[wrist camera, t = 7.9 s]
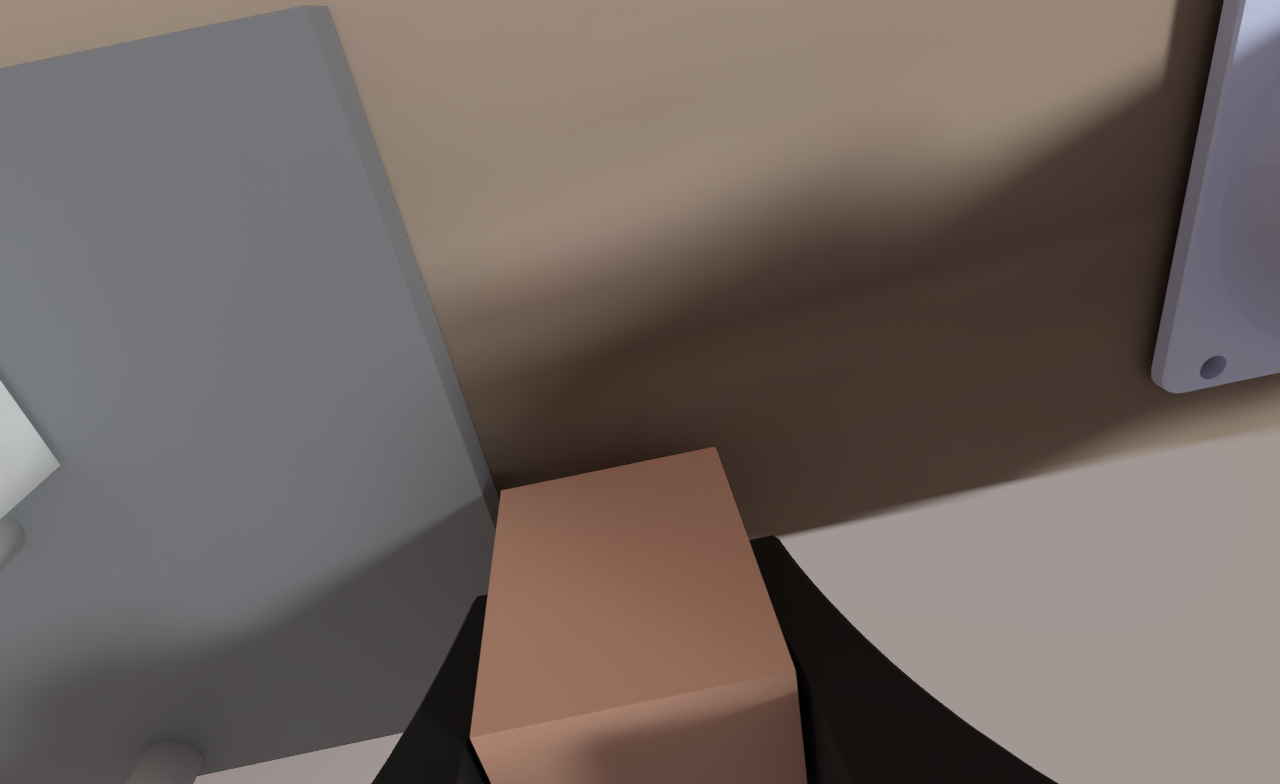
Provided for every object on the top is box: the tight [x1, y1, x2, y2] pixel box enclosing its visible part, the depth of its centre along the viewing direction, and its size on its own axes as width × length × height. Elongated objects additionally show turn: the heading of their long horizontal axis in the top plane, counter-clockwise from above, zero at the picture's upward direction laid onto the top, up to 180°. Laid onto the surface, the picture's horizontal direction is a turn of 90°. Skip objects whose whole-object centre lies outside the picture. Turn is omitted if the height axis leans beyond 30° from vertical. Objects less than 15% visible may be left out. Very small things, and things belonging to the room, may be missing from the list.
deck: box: [0, 5, 500, 784], centre depth 12 cm, size 14×14×4 cm
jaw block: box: [470, 447, 807, 784], centre depth 12 cm, size 4×4×5 cm
